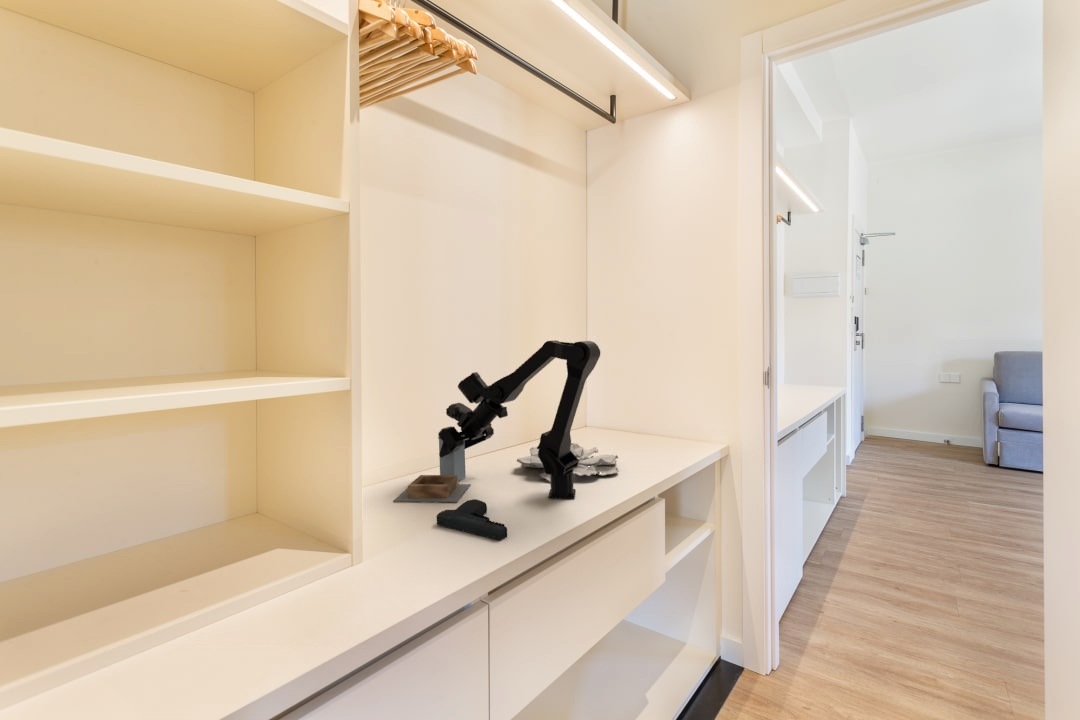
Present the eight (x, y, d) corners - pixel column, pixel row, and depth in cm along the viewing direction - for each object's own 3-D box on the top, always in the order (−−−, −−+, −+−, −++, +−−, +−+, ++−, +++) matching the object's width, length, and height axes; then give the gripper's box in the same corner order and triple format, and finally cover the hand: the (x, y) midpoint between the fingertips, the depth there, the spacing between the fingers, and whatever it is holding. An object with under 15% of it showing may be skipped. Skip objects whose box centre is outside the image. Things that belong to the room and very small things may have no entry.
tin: (466, 478, 147) (464, 434, 146) (454, 483, 142) (453, 437, 142) (451, 476, 149) (449, 432, 149) (439, 480, 145) (438, 436, 144)
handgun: (531, 526, 112) (497, 546, 102) (469, 510, 121) (432, 528, 111) (531, 511, 112) (497, 530, 102) (469, 497, 121) (432, 513, 111)
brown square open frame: (457, 486, 138) (457, 475, 138) (447, 498, 128) (446, 486, 128) (421, 486, 139) (420, 475, 139) (408, 497, 129) (407, 485, 129)
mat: (470, 485, 140) (470, 484, 140) (456, 503, 126) (456, 501, 126) (413, 485, 141) (413, 483, 141) (393, 502, 127) (393, 500, 127)
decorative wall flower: (624, 459, 139) (512, 460, 140) (624, 485, 139) (512, 485, 140) (613, 436, 169) (520, 436, 170) (613, 457, 169) (521, 457, 170)
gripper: (484, 390, 150) (454, 425, 156) (443, 398, 134) (411, 437, 140) (508, 419, 147) (476, 453, 153) (468, 431, 131) (435, 469, 137)
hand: (450, 452), depth 146 cm, fingers open, 9 cm apart
